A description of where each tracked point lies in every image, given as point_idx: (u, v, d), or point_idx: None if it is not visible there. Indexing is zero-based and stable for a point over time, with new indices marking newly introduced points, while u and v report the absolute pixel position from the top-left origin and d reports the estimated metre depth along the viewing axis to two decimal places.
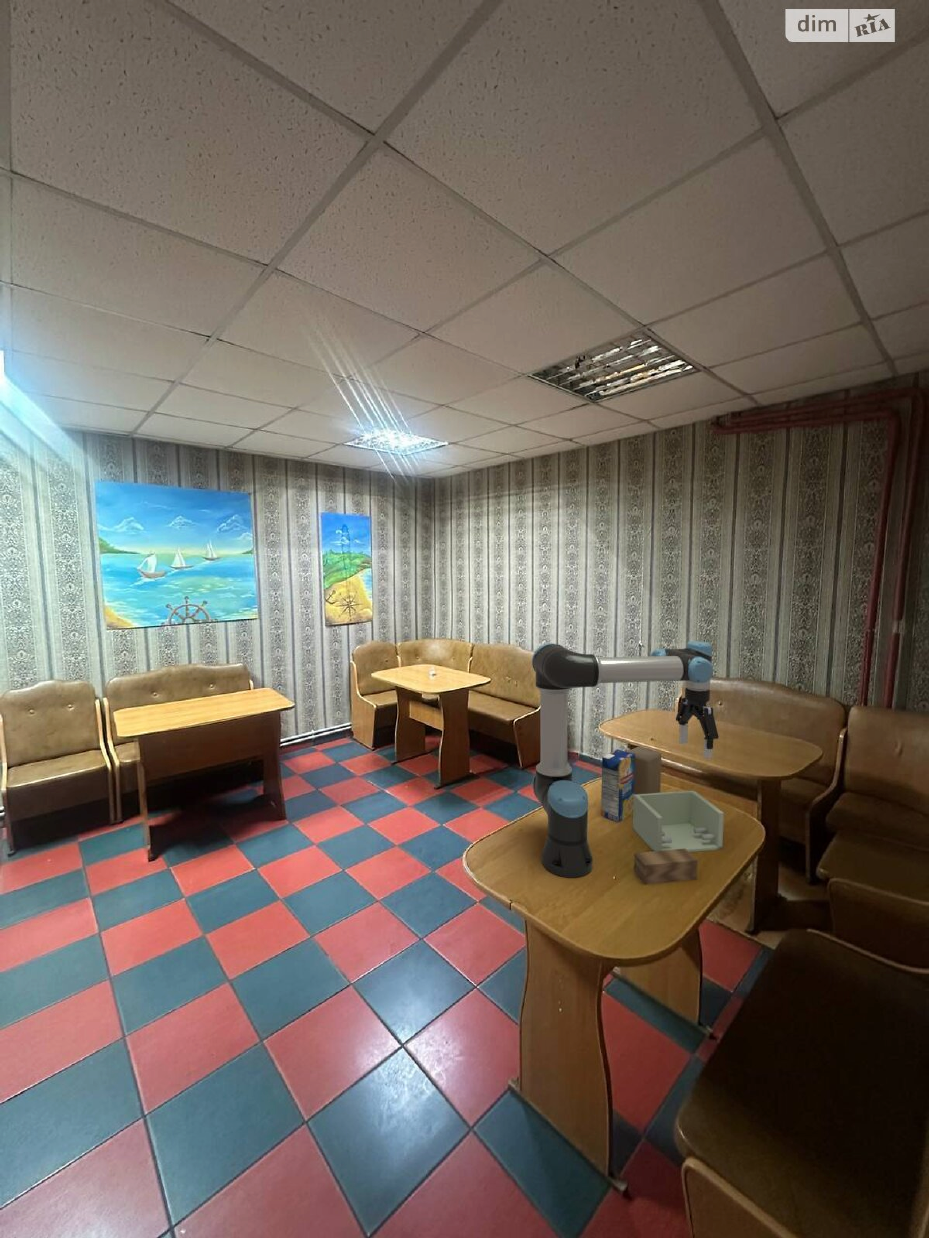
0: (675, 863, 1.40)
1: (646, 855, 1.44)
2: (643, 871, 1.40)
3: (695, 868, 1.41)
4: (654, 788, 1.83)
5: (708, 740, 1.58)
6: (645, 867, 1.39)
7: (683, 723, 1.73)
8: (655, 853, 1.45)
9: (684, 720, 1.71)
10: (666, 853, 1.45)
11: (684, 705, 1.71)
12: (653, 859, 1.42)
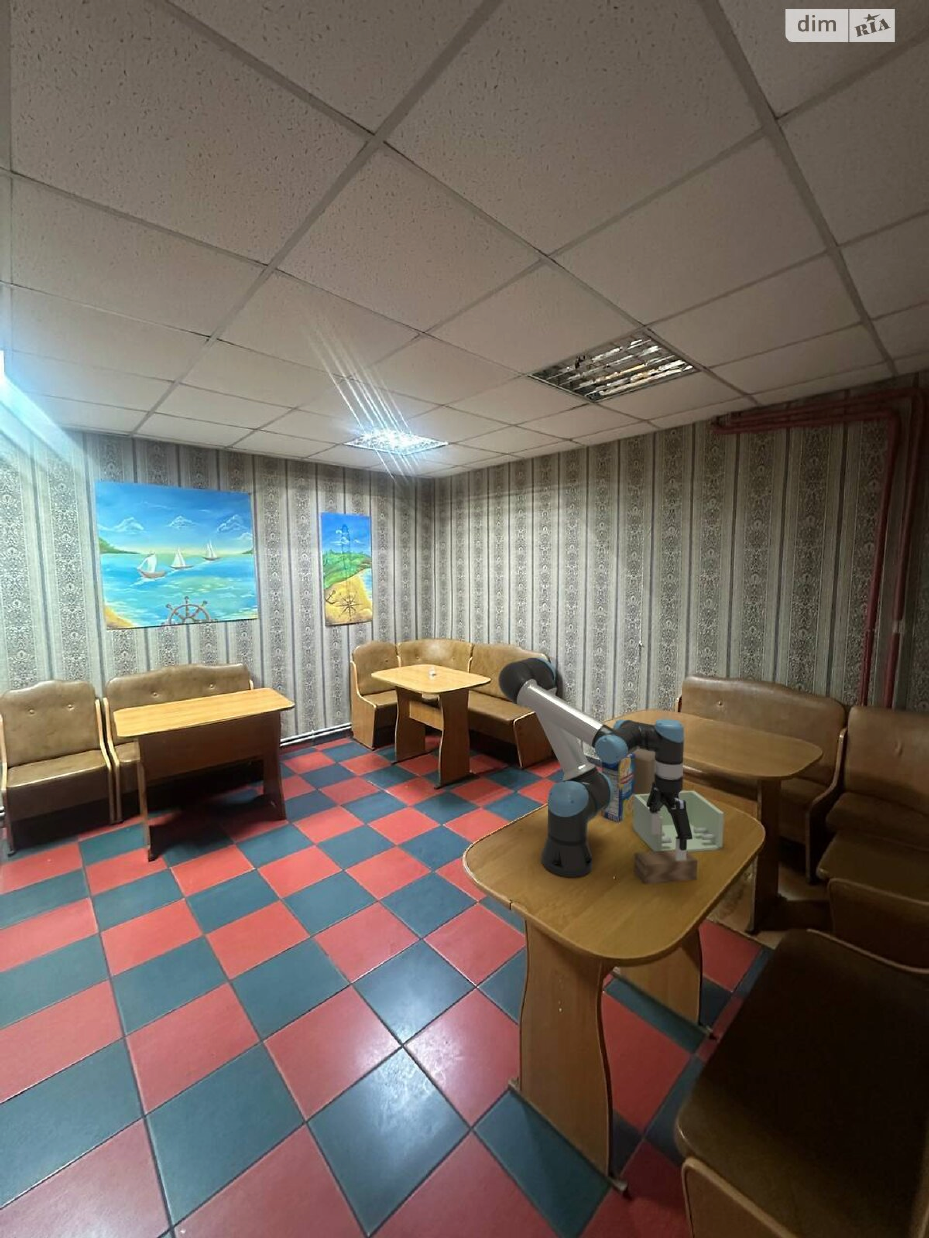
0: (675, 863, 1.40)
1: (646, 855, 1.44)
2: (643, 871, 1.40)
3: (695, 868, 1.41)
4: None
5: (681, 840, 1.34)
6: (645, 867, 1.39)
7: (654, 811, 1.49)
8: (655, 853, 1.45)
9: (655, 808, 1.47)
10: (666, 853, 1.45)
11: (655, 791, 1.47)
12: (653, 859, 1.42)
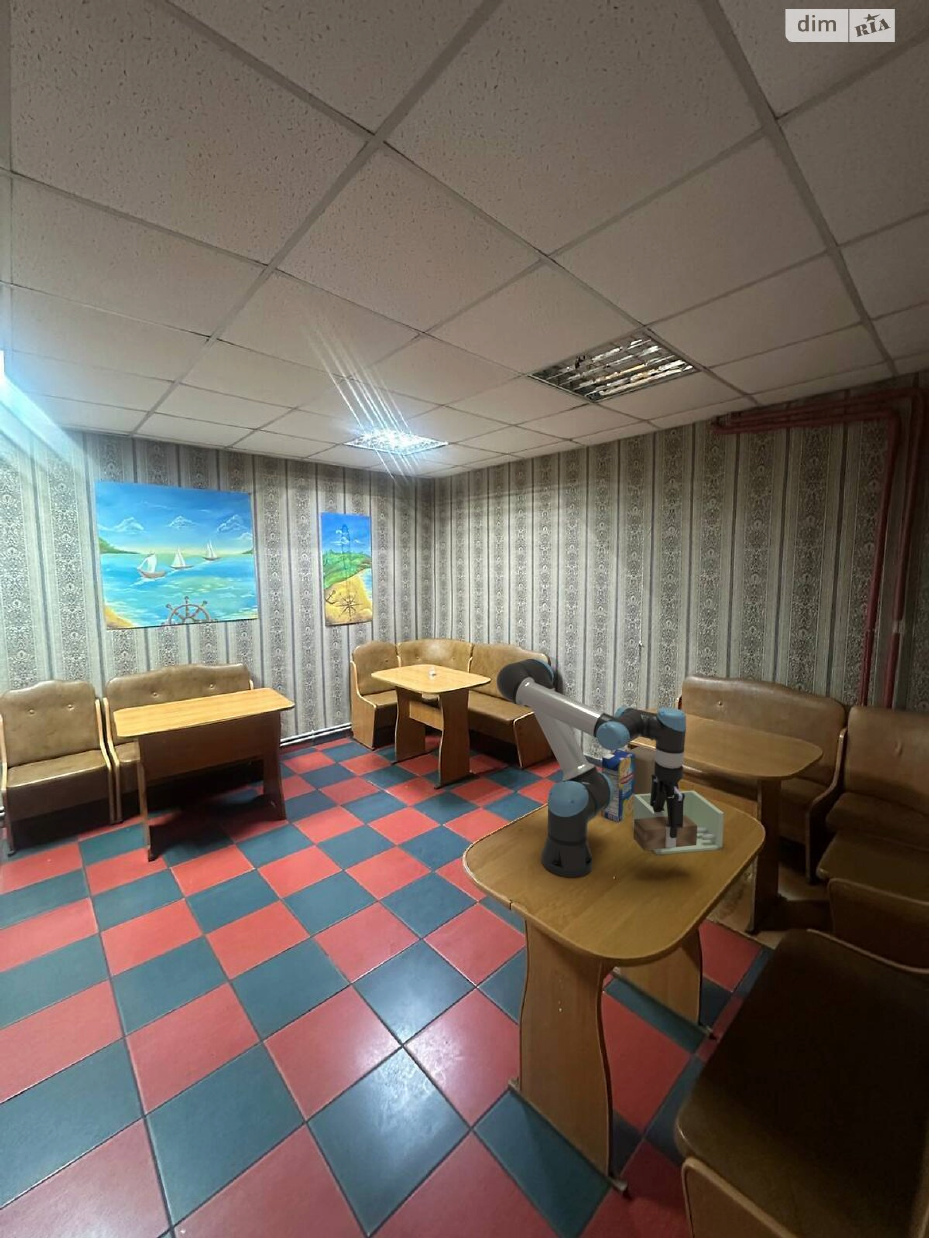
0: None
1: (646, 821, 1.43)
2: (643, 836, 1.39)
3: (695, 833, 1.41)
4: None
5: (671, 828, 1.38)
6: (645, 832, 1.38)
7: (658, 810, 1.46)
8: (655, 819, 1.44)
9: (658, 805, 1.45)
10: (666, 819, 1.44)
11: (655, 783, 1.46)
12: (653, 824, 1.41)
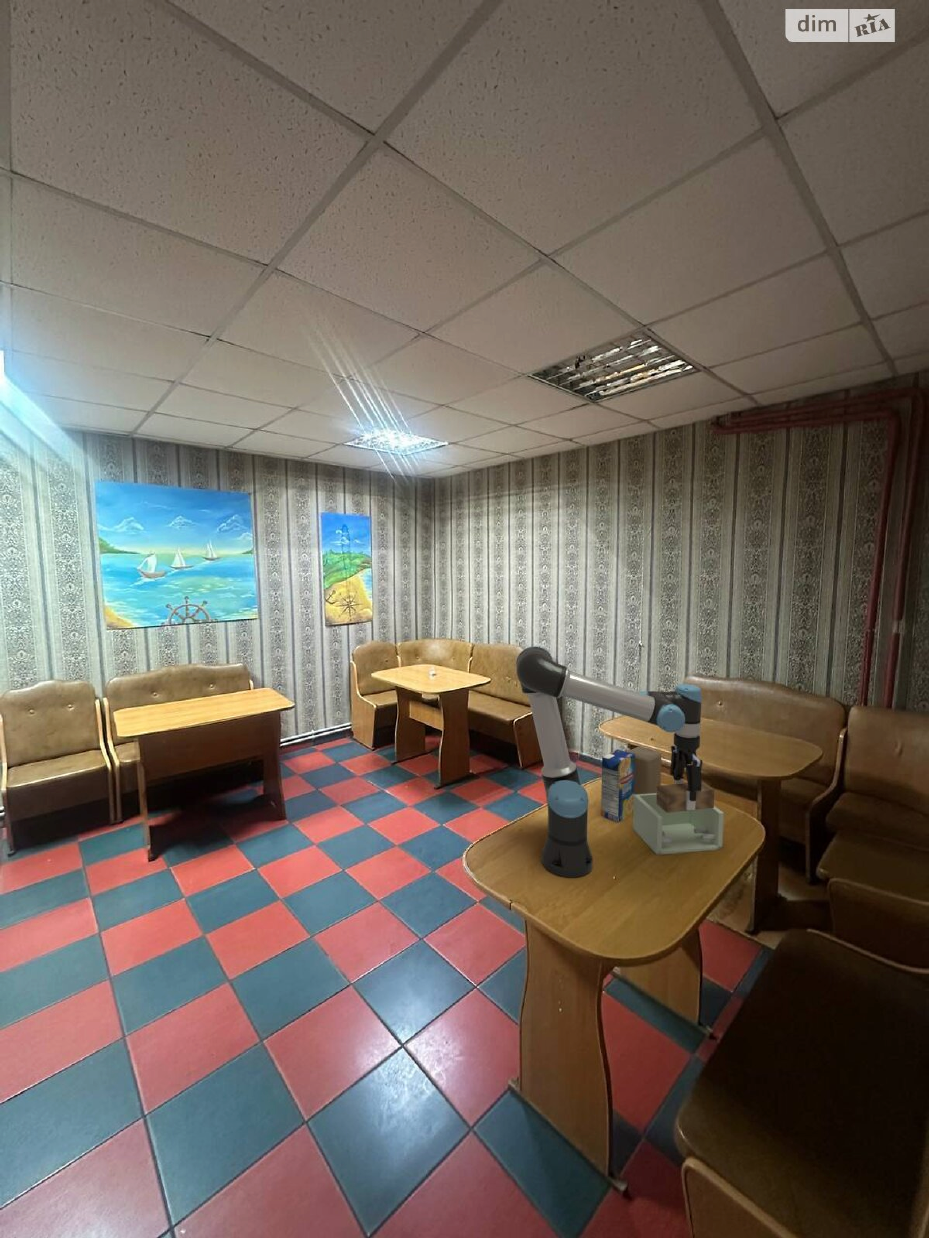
0: None
1: (668, 787, 1.58)
2: (666, 800, 1.54)
3: (712, 797, 1.56)
4: (654, 788, 1.83)
5: (691, 792, 1.53)
6: (667, 796, 1.53)
7: (678, 777, 1.61)
8: (675, 785, 1.59)
9: (678, 773, 1.60)
10: (685, 785, 1.59)
11: (675, 754, 1.61)
12: (674, 789, 1.56)
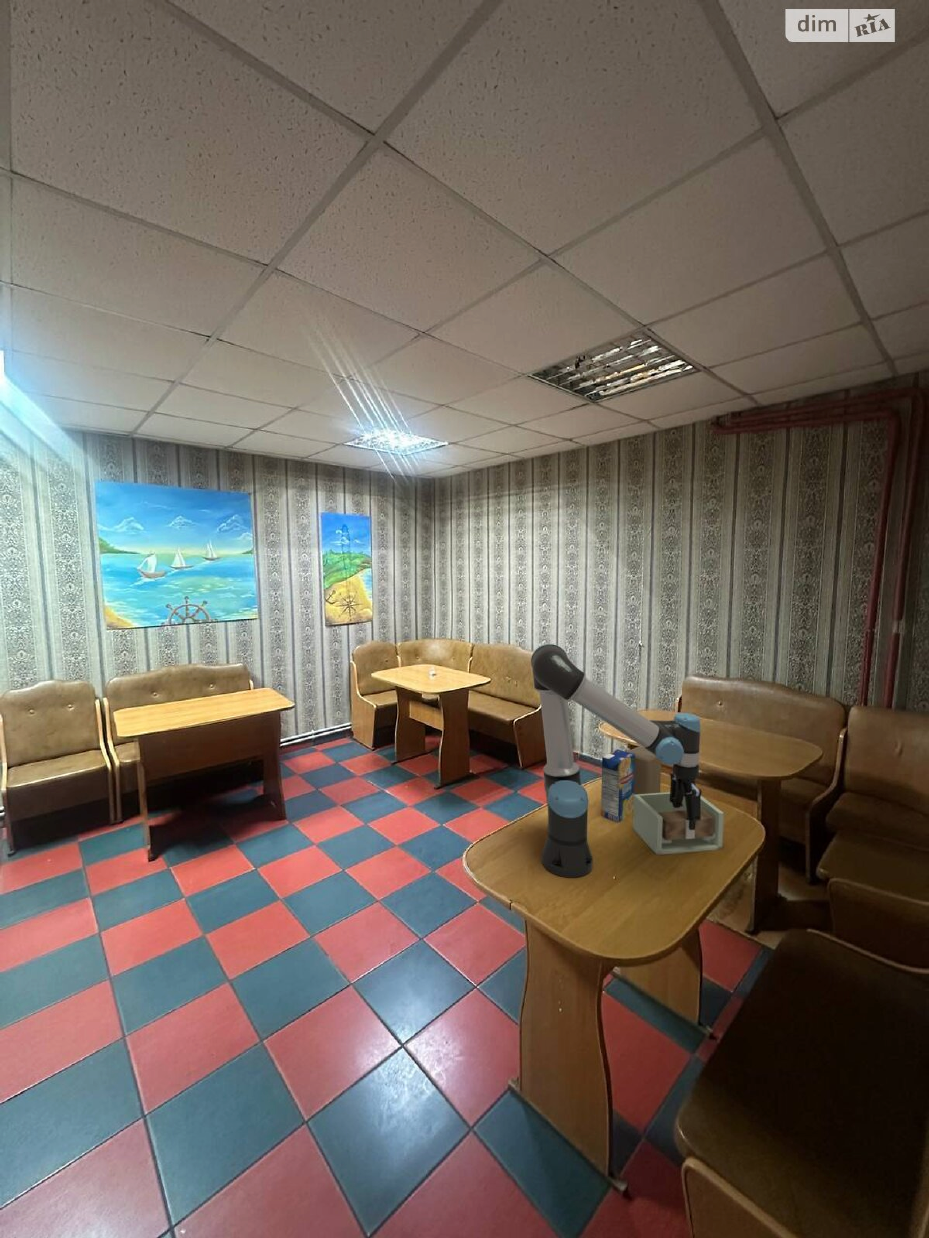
0: None
1: (667, 814, 1.59)
2: (665, 827, 1.55)
3: (711, 825, 1.57)
4: (654, 788, 1.83)
5: (690, 821, 1.54)
6: (666, 823, 1.54)
7: (677, 805, 1.62)
8: (675, 812, 1.60)
9: (677, 801, 1.61)
10: (685, 812, 1.60)
11: (674, 781, 1.62)
12: (674, 817, 1.57)
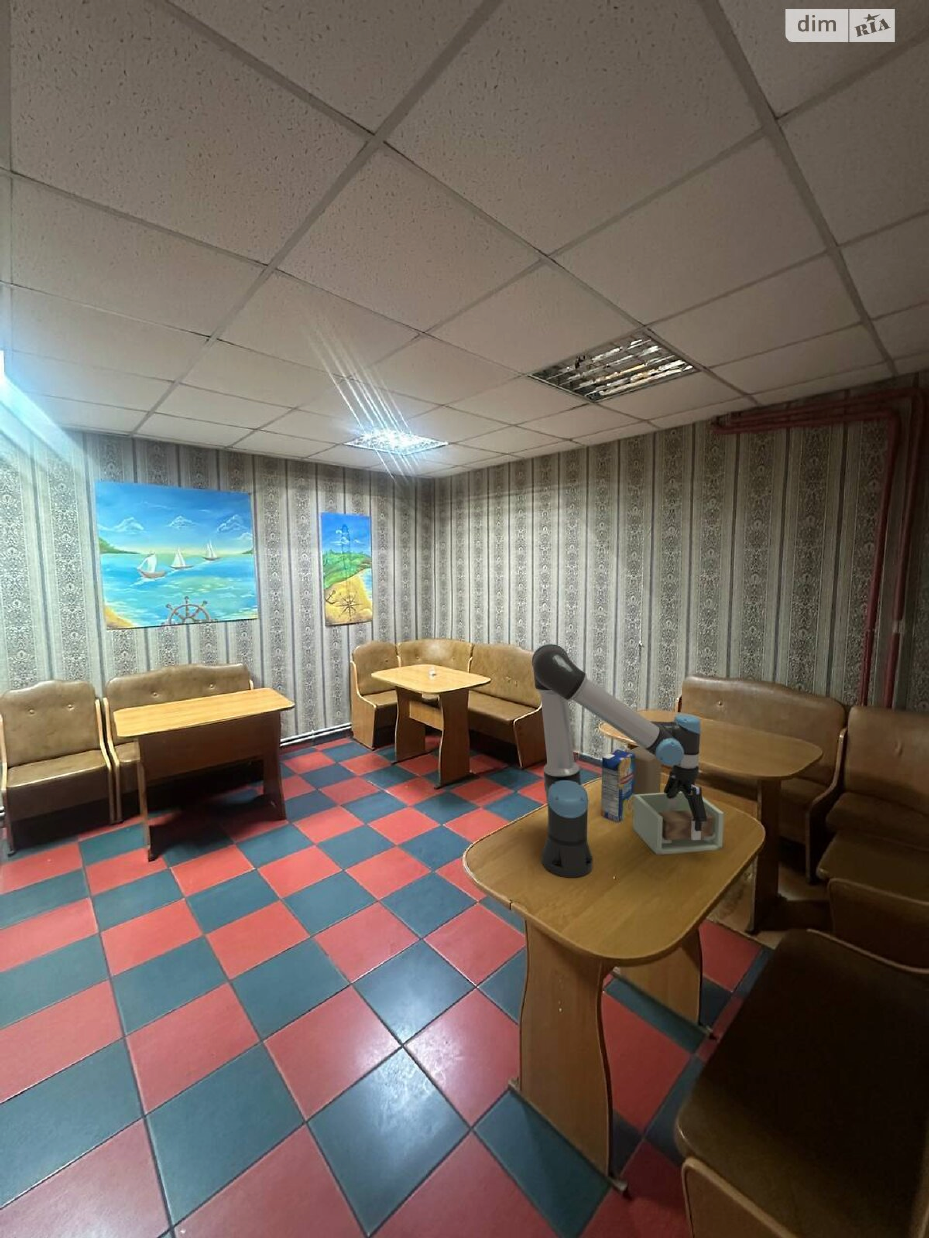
0: None
1: (667, 814, 1.59)
2: (665, 827, 1.55)
3: (712, 825, 1.57)
4: (654, 788, 1.83)
5: (696, 822, 1.50)
6: (666, 823, 1.54)
7: (671, 796, 1.65)
8: (675, 812, 1.60)
9: (672, 794, 1.64)
10: (685, 812, 1.60)
11: (672, 779, 1.63)
12: (674, 817, 1.57)
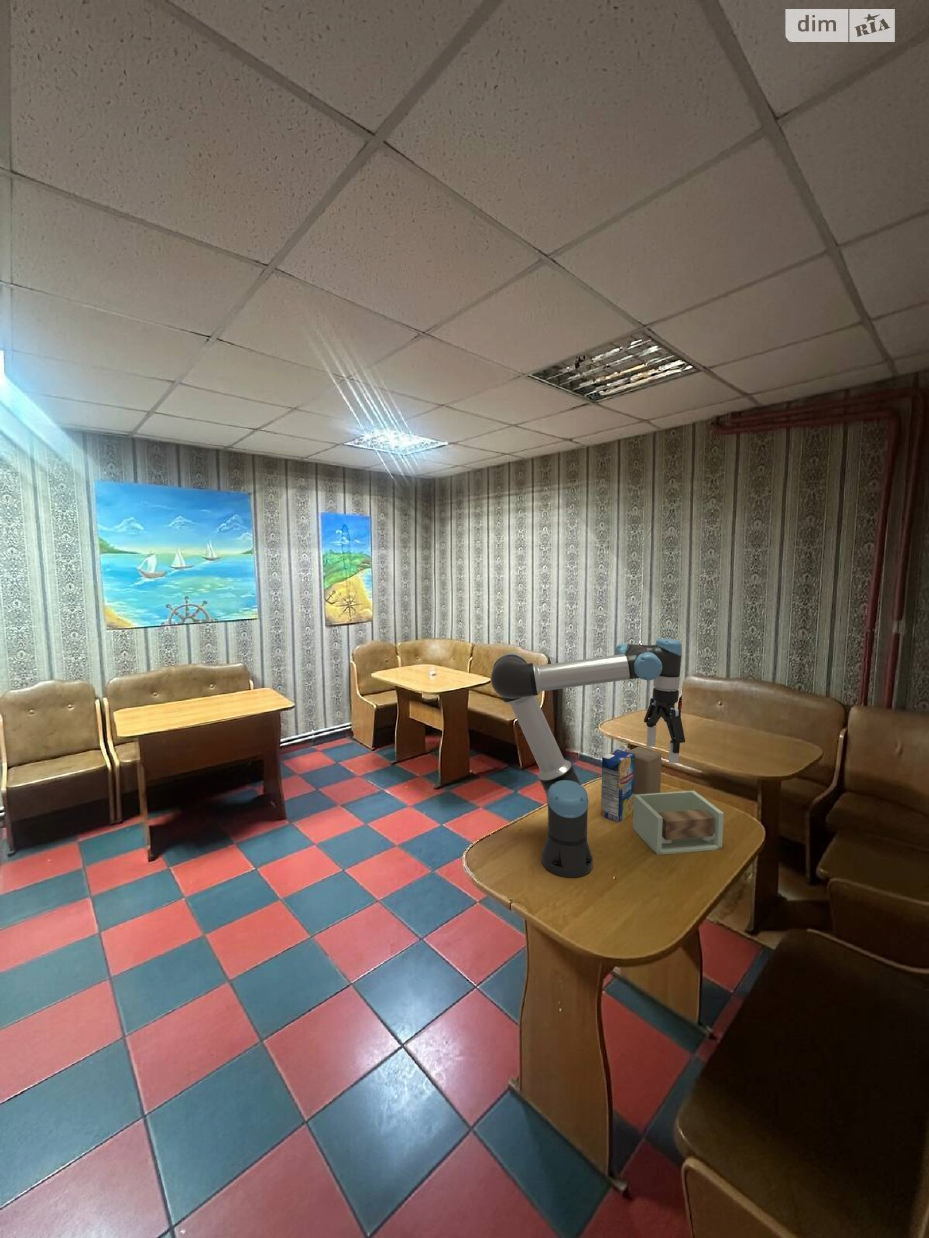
0: (694, 821, 1.55)
1: (667, 814, 1.59)
2: (665, 827, 1.55)
3: (712, 825, 1.57)
4: (654, 788, 1.83)
5: (674, 744, 1.48)
6: (666, 823, 1.54)
7: (651, 725, 1.63)
8: (675, 812, 1.60)
9: (652, 722, 1.62)
10: (685, 812, 1.60)
11: (652, 706, 1.61)
12: (674, 817, 1.57)
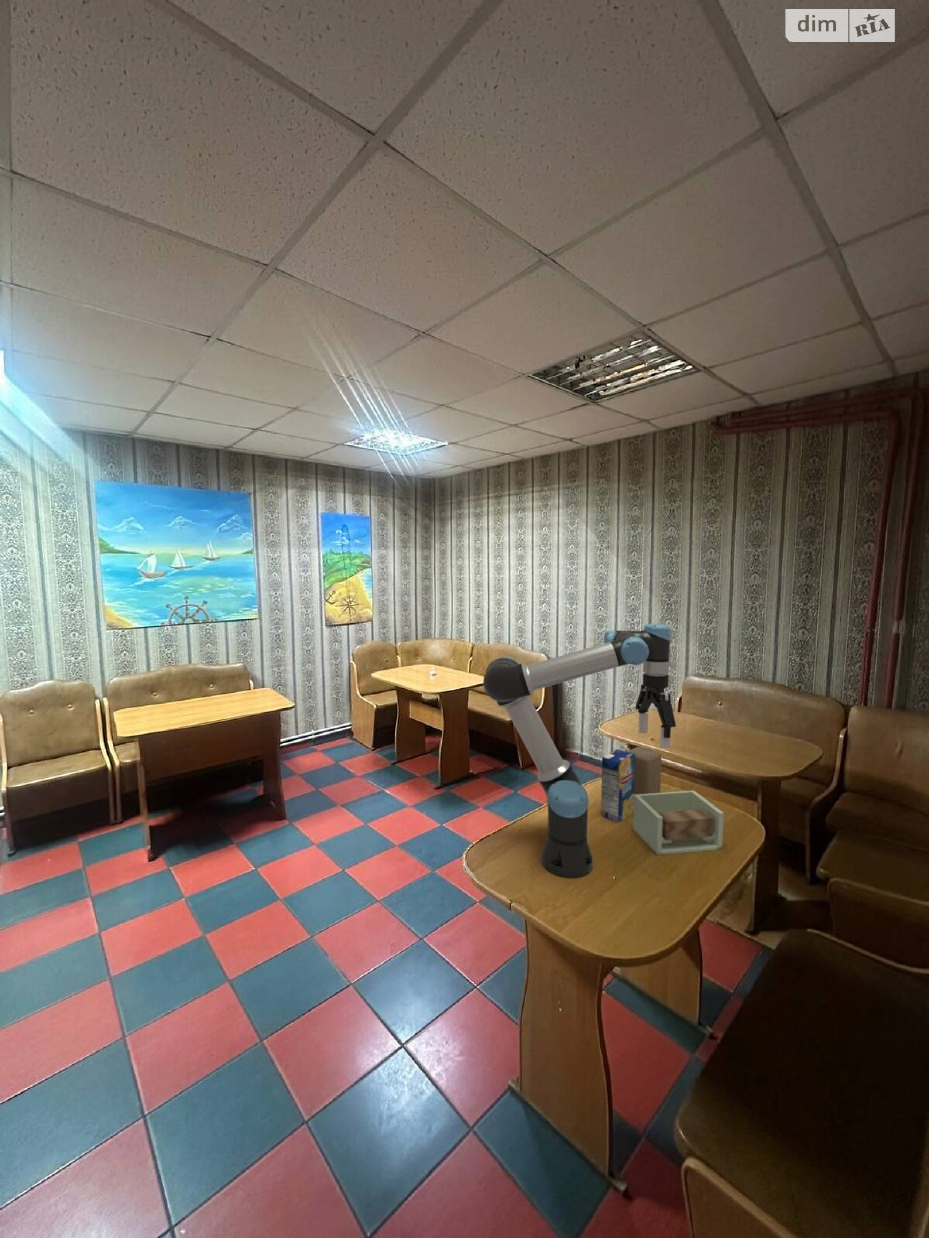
0: (694, 821, 1.55)
1: (667, 814, 1.59)
2: (665, 827, 1.55)
3: (712, 825, 1.57)
4: (654, 788, 1.83)
5: (665, 728, 1.48)
6: (666, 823, 1.54)
7: (643, 711, 1.63)
8: (675, 812, 1.60)
9: (643, 708, 1.61)
10: (685, 812, 1.60)
11: (643, 692, 1.61)
12: (674, 817, 1.57)
